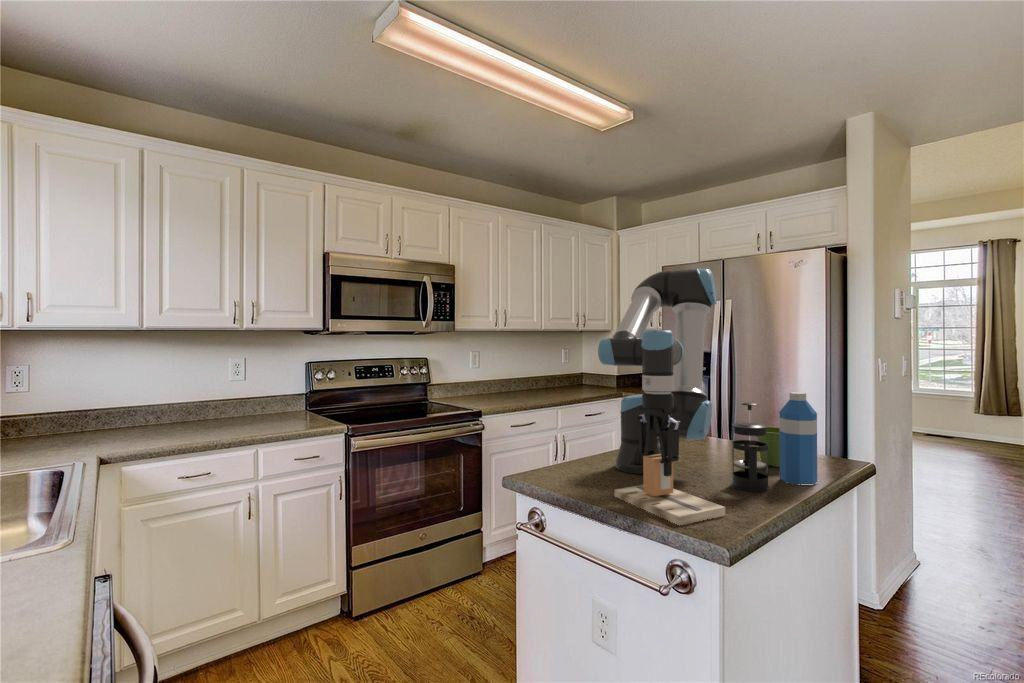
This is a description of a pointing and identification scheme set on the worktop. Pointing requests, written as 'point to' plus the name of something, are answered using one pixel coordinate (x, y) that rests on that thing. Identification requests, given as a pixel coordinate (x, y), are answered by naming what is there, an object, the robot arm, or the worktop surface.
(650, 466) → the block
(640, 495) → the fader board
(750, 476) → the french press
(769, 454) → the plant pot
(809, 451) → the water bottle
